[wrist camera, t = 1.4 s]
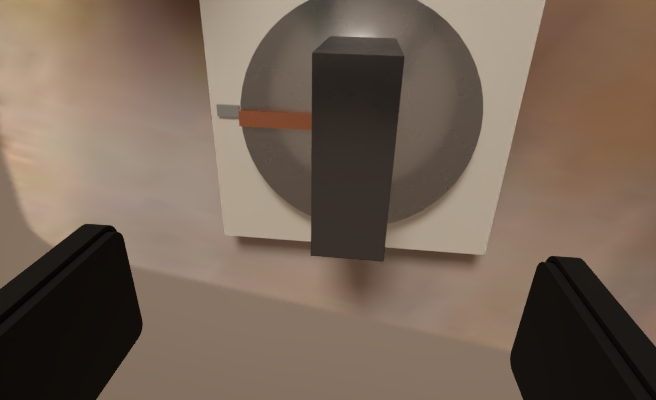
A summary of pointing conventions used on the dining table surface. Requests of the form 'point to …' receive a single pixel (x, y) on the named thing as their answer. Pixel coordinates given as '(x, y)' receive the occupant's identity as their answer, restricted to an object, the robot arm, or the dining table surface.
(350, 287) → the dining table surface
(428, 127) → the dial
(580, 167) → the dining table surface
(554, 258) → the robot arm
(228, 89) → the dial base
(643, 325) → the dining table surface
